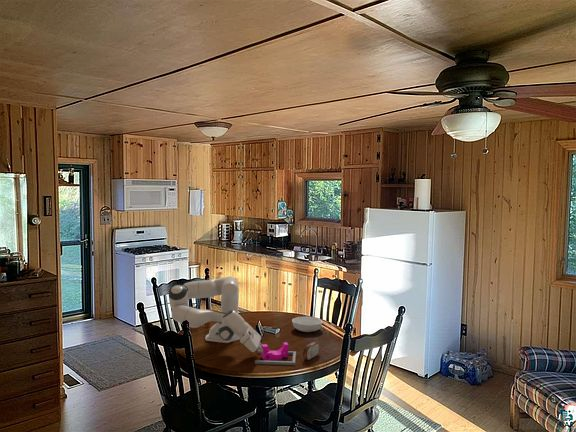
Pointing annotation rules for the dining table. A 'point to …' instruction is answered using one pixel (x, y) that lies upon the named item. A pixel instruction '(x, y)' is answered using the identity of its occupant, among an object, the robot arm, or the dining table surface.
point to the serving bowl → (307, 324)
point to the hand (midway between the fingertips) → (263, 350)
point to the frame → (278, 361)
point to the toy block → (274, 352)
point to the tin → (311, 350)
